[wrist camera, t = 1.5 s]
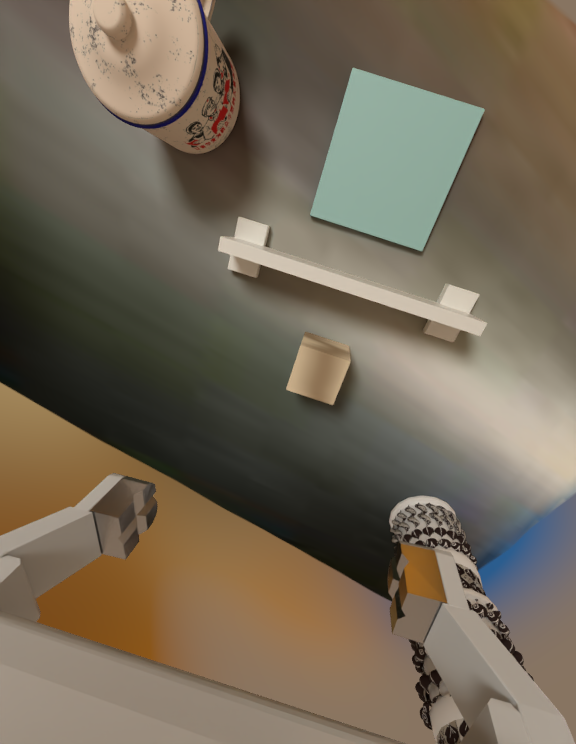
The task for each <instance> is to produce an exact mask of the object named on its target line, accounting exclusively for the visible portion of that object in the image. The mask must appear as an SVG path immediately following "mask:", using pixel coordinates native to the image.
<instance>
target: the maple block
mask: <svg viewBox="0 0 576 744" xmlns="http://www.w3.org/2000/svg"><path fill="white" fill-rule="evenodd" d="M350 362H351V360H350V351H349V346H348V345H345V344H342V343H339V342H336V341H332V340H329V339H326V338H323V337H320V336H317V335H314V334H311V333H308V332H305V334H304V337H303V340H302V343H301V346H300V349H299V352H298V355H297V358H296V361H295V364H294V367H293V370H292V373H291V376H290V379H289V382H288V385H287V388H286V390H288V391H292V392H295V393H298V394H301V395H304V396H307V397H310V398H313V399H316V400H319V401H322V402H325V403H328V404H331V405H333V404H334V401H335V399H336V396H337V394H338V392H339V389H340V387H341V384H342V382H343V379H344V377H345V374H346V372H347V369H348V367H349V365H350Z"/></svg>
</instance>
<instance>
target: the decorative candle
mask: <svg viewBox="0 0 576 744" xmlns="http://www.w3.org/2000/svg"><path fill="white" fill-rule="evenodd" d="M389 523H390V526H391V529H390V531H391V532H393V533H394V534H395V535H394V536H393V537H392V542H393V543H397V541H398V540H399V541H404V542H408V543H413V544H417V545H422V546H426V547H431V548H434V549H439V550H443V551H447V552H451V554H452V555H453V557H454V560H455V563H456V567H457V570H458V573H459V576H460V580H461V583H462V586H463V589H464V593H465V596H466V599H467V603H468V606H469V609H470V610H472V611H475V612H476V613H477V614H478V615H479V616H480V618H481V619H482V620H483V621H484V622H485V624H486V625H487V626H488V627H489V628H490V630H491V631H492V632H493V633H494V634H495V636H496V637H497V638H498V639H499V640H500V642H501V643H502V644H503V645H504V646H505V647H506V649H507V650H508V651H509V652H510V653H511V655H513V657H514V658H515V659H516V661H517V662H518V663H519V664H520V665H521V667H522V668H523V669H524V670H525V668H524V667H523V666H522V665H523V662H524V661H523V657H522V655H521V654H520V653H519V652H517V651H515V647H514V645H513V643H512V641H511V639H510V638H509V637H508V635H509V629H508V628H507V626H506V625H504V624H503V623H502V621H501V620H500V618H501V612H500V611H498V610H497V607H496V606H495V605H494V604H493V603H492V602H491V601H490V600H489V598H488V597H487V596H486V594H485V592H484V590H483V589H482V584H481V579H480V576H479V573H478V568H477V566H476V563H477V561H476V558H475V557H474V556H472V554H471V547H470V545H469V544H467V542H466V540H465V539H466V535H465V532H464V531H463V529H461V524H460V521H459V520H458V519H457V518H456V515H455V512H454V510H453V509H452V508H451V507H450V506H449V505H448V503H447V502H445V501H442V500H440V499H438V498H436V497H431V496H423V495H421V496H415V497H409V498H407V499H405V500H403V501H401V502H399V503H398V504H397V505H396V506H395V507H394V508H393V509H392V511H391V514H390V518H389ZM394 548H395V547H394ZM500 632H501V633H502V634H500ZM409 642H410V643H411V647H412V649H413V650H414V651H415V655H414V656H413V657H412V661H413V664H414V665H415V668H416V670H417V672H419V673H421V674H422V676H421V677H420V679H419V682H418V683H417V684H416V686H415V688H416V690H417V692H418V694H419V698H420V699H421V700H422V701H423V702H424V704H423V708H421V710H420V716H421V718H422V719H423V720H424V724H425V726H426V727H428V728H429V729H431V730H433V734H434V739H435V741H436V744H459V743H460V742H461V741H462V739H463V738H464V736H465V735H466V733H467V732H468V730H469V727H468V725H467V724H466V722H465V720H464V718H463V716H462V715H461V713H460V711H459V709H458V707H457V706H456V704H455V702H454V700H453V698H452V696H451V695H450V693H449V691H448V689H447V687H446V686H445V684H444V682H443V680H442V678H441V677H440V675H439V673H438V671H437V669H436V668H435V666H434V664H433V662H432V660H431V659H430V657H429V655H428V653H427V651H426V650H425V648H424V646H423V645H424V644H423V643H420V642H419V644H418V642H417V641H413V640H410V639H409ZM525 671H526V670H525ZM526 673H527V672H526ZM527 674H528V673H527ZM528 675H529V676H530V677H531V679H532V680H533V677H532V676H531V675H530V674H528ZM533 681H534V680H533ZM426 691H427V692H428V693H429V694H428V693H427V692H426ZM429 705H430V706H431V710H430V711H429Z"/></svg>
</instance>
